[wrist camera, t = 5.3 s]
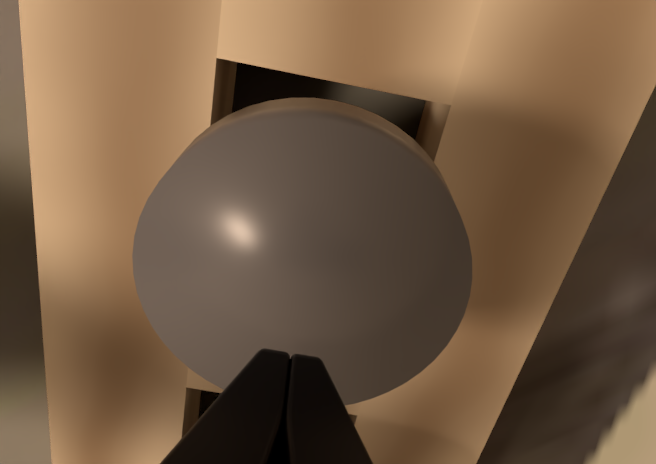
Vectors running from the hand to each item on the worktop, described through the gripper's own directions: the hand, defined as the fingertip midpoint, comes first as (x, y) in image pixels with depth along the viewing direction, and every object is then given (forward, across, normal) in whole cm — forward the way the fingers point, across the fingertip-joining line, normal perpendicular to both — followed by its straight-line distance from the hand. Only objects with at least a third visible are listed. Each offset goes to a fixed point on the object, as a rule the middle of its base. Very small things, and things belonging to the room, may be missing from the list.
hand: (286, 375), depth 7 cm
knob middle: (+7, 0, 0) cm, 7 cm away
